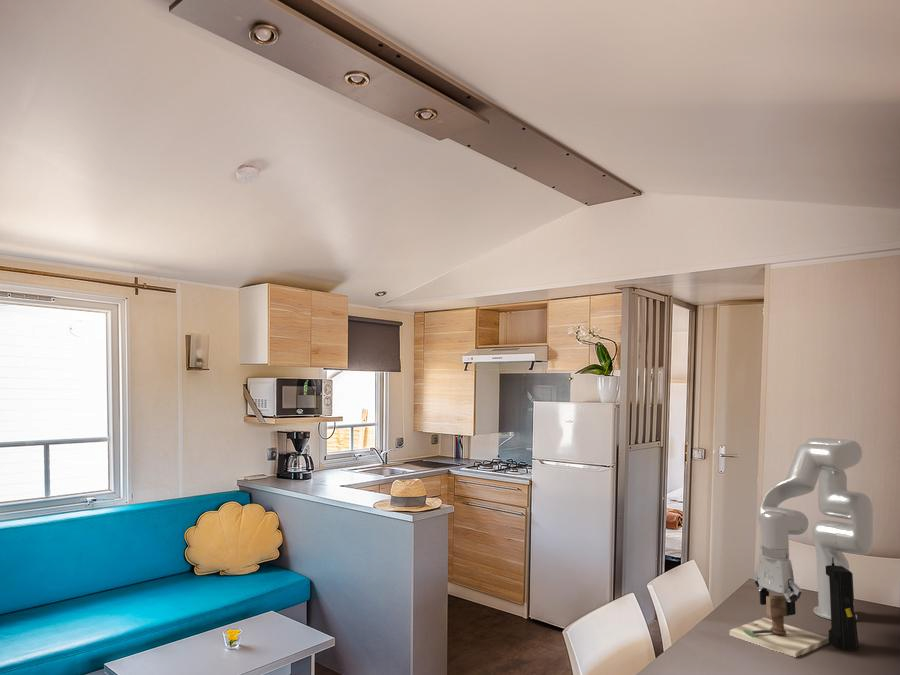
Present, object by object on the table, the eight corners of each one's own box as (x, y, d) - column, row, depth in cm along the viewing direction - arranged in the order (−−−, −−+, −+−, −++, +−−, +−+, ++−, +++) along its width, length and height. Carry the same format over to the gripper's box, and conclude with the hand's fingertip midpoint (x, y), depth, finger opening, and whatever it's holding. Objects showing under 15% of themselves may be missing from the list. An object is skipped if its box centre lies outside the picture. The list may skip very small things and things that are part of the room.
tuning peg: (782, 629, 192) (780, 594, 193) (792, 635, 188) (790, 598, 189) (748, 631, 191) (747, 595, 192) (757, 637, 186) (756, 600, 187)
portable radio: (861, 652, 180) (857, 564, 182) (839, 651, 181) (835, 563, 183) (850, 642, 187) (846, 558, 190) (828, 640, 189) (824, 556, 191)
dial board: (764, 622, 203) (763, 617, 204) (828, 642, 187) (828, 637, 187) (729, 635, 192) (729, 629, 192) (795, 658, 176) (795, 651, 176)
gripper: (744, 546, 199) (746, 601, 197) (789, 560, 183) (792, 620, 181) (762, 545, 201) (764, 599, 200) (808, 558, 185) (811, 617, 183)
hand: (777, 609), depth 190 cm, fingers open, 9 cm apart
